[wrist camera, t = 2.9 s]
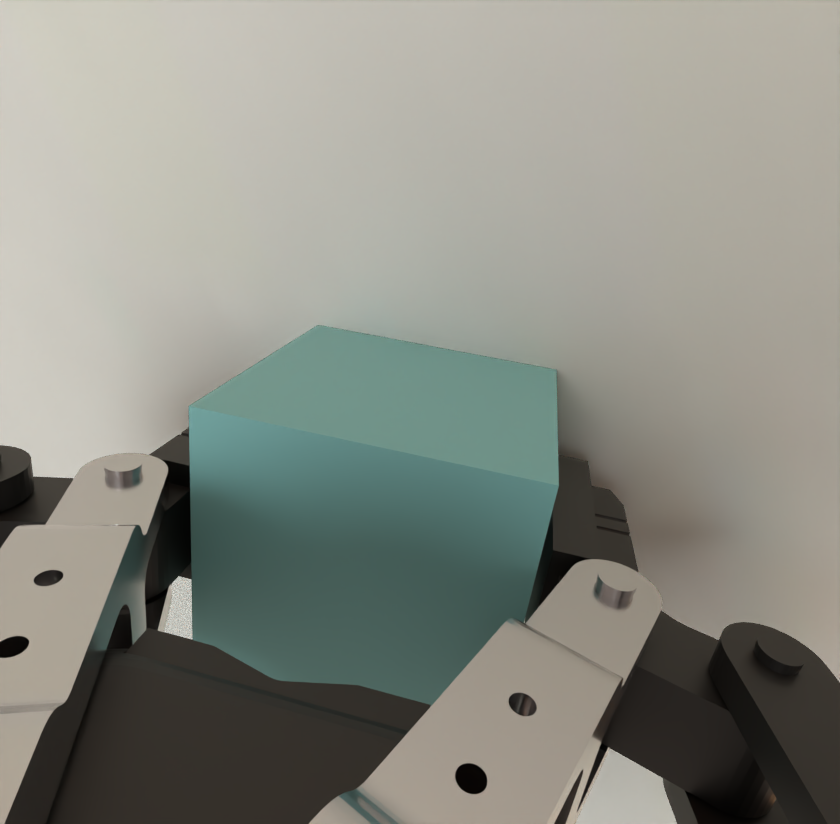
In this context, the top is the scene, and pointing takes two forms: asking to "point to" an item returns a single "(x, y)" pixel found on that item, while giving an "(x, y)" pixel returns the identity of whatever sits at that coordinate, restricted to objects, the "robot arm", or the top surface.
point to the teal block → (369, 509)
